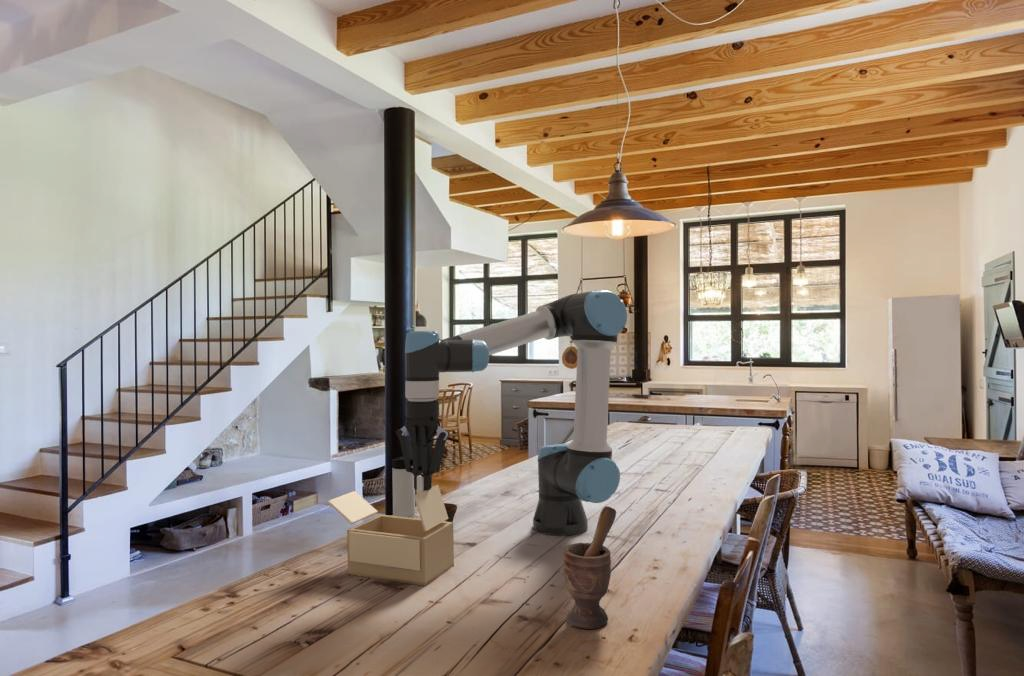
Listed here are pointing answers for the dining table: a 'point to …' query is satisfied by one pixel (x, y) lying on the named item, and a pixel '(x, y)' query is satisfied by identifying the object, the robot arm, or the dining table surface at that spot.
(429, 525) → the flap near
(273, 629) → the dining table surface
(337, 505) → the flap far
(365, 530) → the carton
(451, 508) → the cup
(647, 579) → the dining table surface
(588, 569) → the mortar and pestle
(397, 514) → the travel mug
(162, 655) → the dining table surface
